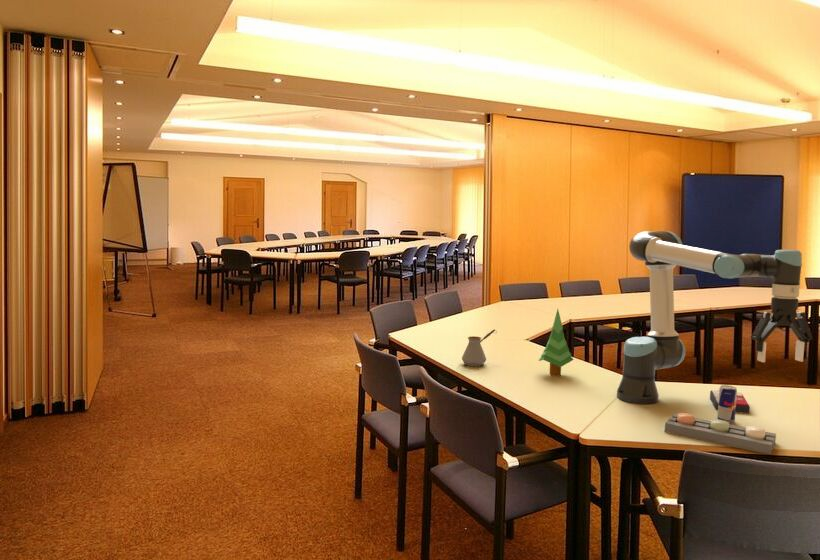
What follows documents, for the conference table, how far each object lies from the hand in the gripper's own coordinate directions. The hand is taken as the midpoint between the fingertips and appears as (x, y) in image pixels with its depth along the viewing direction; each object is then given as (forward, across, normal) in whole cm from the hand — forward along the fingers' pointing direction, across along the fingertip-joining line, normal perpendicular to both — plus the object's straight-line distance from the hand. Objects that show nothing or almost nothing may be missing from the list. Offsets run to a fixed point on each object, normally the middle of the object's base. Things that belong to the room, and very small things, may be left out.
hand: (780, 361), depth 197 cm
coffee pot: (+23, -77, +96) cm, 125 cm away
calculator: (+24, +1, +25) cm, 35 cm away
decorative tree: (+23, -49, +72) cm, 90 cm away
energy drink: (+23, -11, +9) cm, 28 cm away
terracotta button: (+21, -31, +2) cm, 38 cm away
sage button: (+21, -24, -5) cm, 32 cm away
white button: (+21, -16, -12) cm, 30 cm away
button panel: (+23, -24, -5) cm, 34 cm away
